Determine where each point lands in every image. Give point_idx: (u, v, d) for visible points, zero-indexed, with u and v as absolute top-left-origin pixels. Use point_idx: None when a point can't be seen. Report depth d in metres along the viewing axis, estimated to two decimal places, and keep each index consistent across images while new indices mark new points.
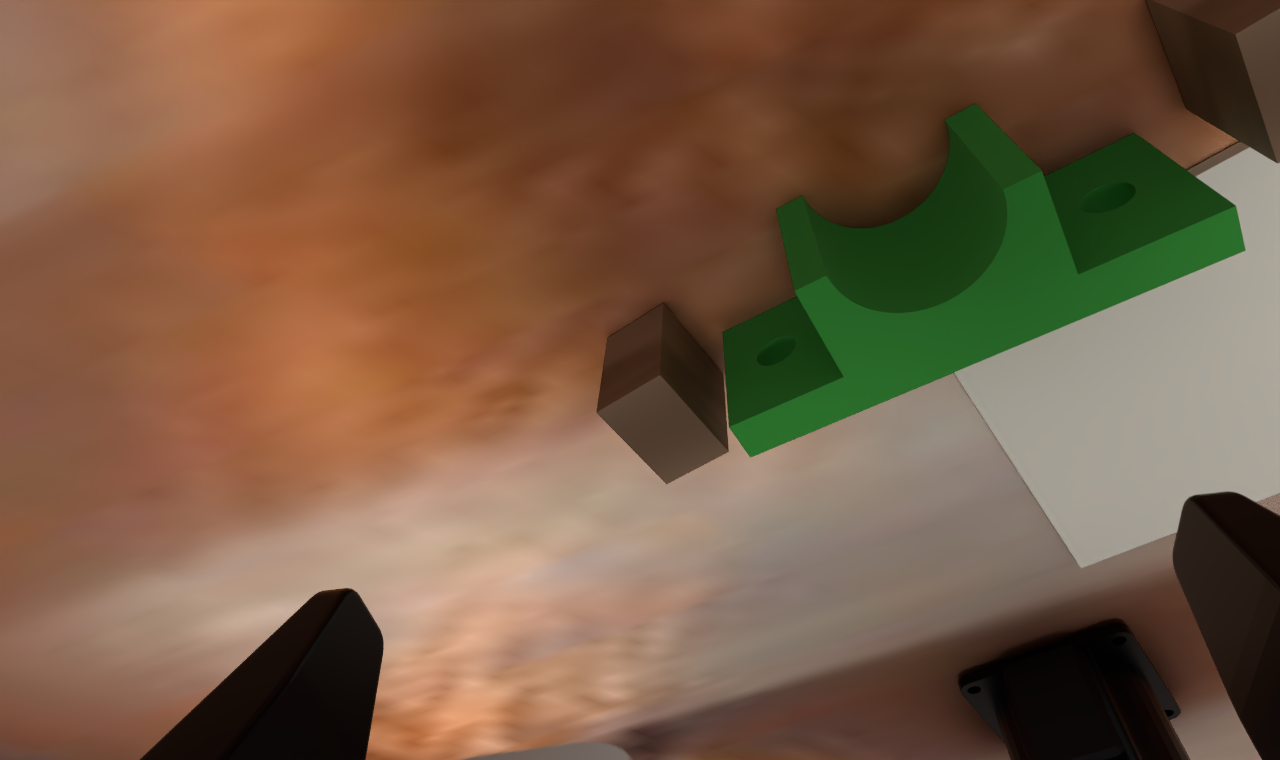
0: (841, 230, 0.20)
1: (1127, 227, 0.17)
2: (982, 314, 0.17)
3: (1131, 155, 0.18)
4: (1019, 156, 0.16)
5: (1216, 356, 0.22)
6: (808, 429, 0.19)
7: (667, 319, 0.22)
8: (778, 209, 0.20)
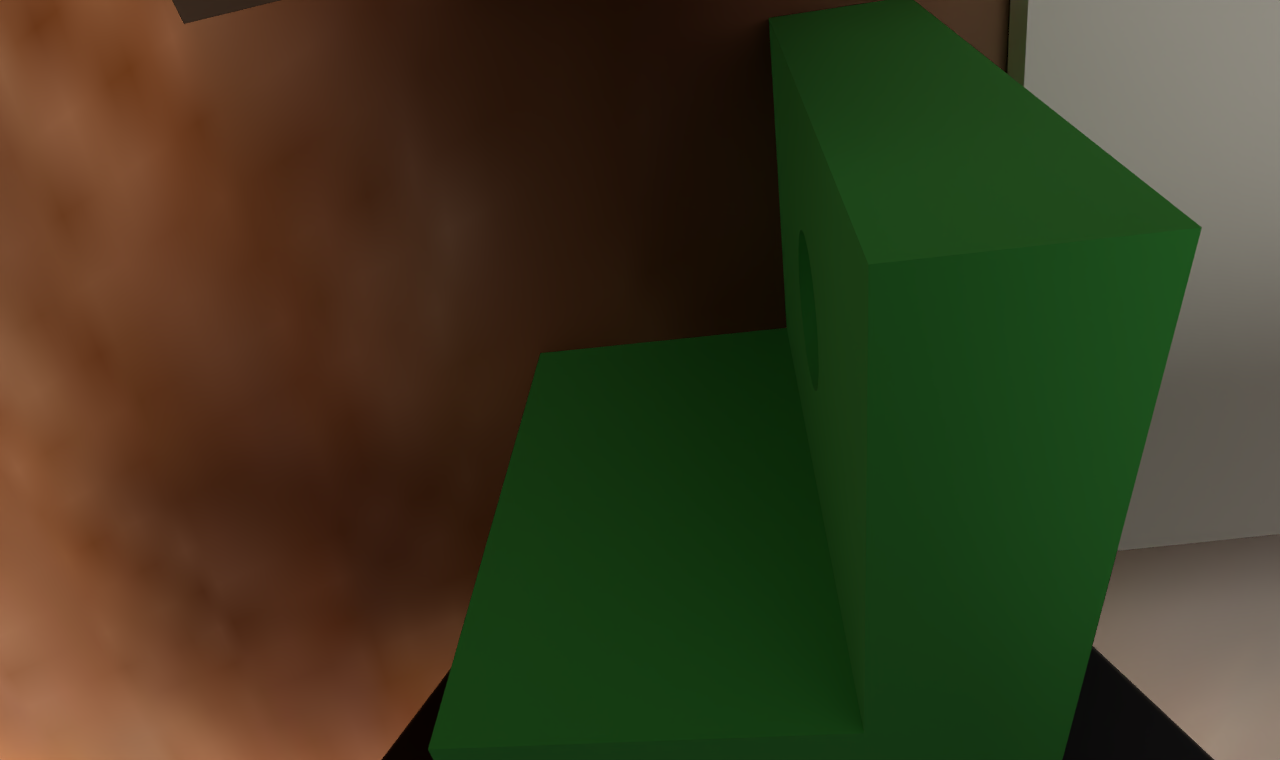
0: None
1: (837, 460, 0.04)
2: None
3: (783, 110, 0.06)
4: (467, 635, 0.06)
5: None
6: None
7: None
8: None
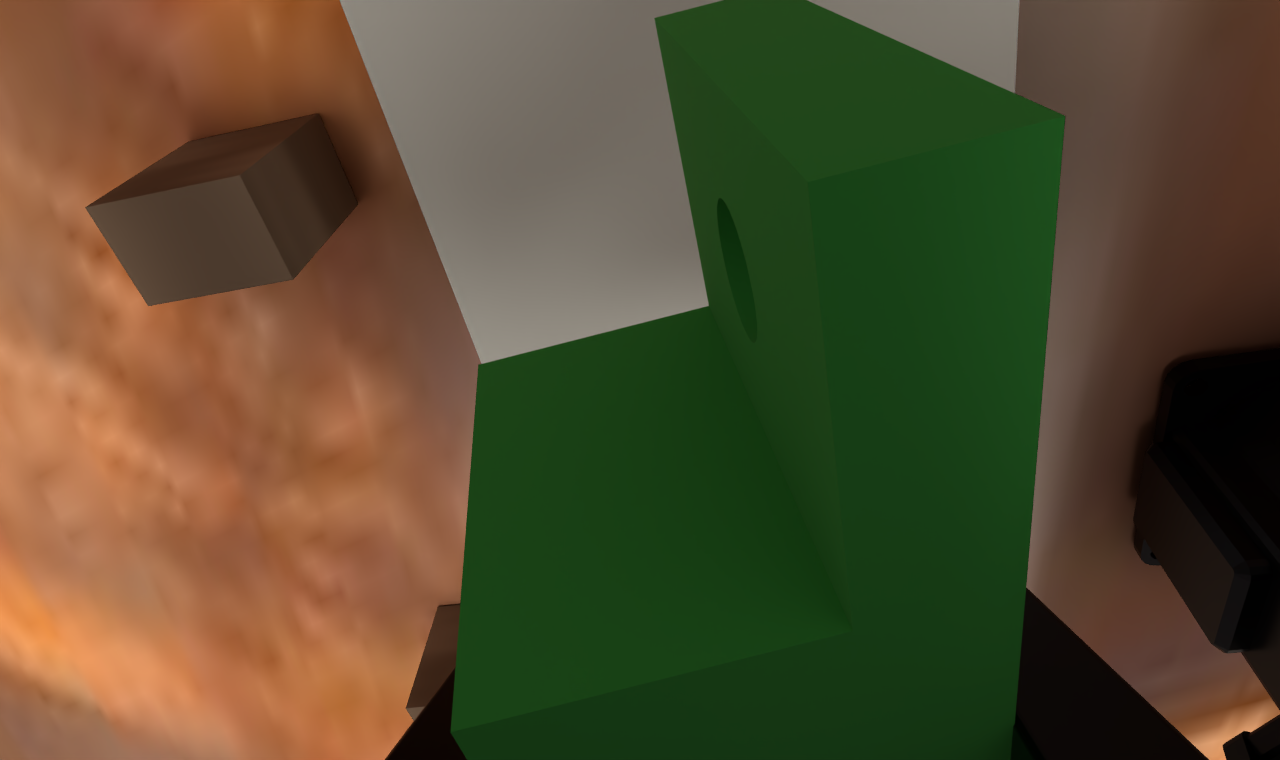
0: None
1: (790, 388, 0.05)
2: None
3: (683, 96, 0.06)
4: (464, 626, 0.06)
5: None
6: None
7: (439, 622, 0.24)
8: None
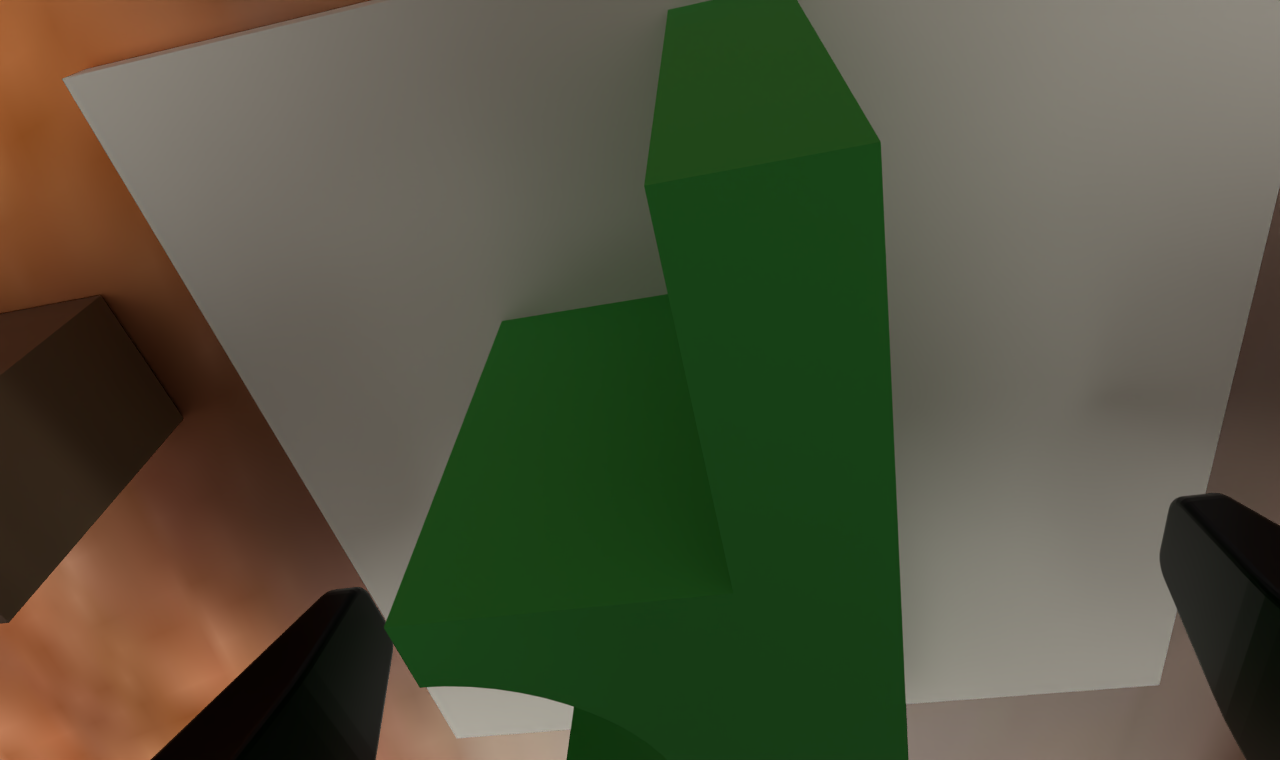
0: None
1: None
2: (762, 752, 0.07)
3: None
4: (423, 545, 0.07)
5: None
6: None
7: None
8: None
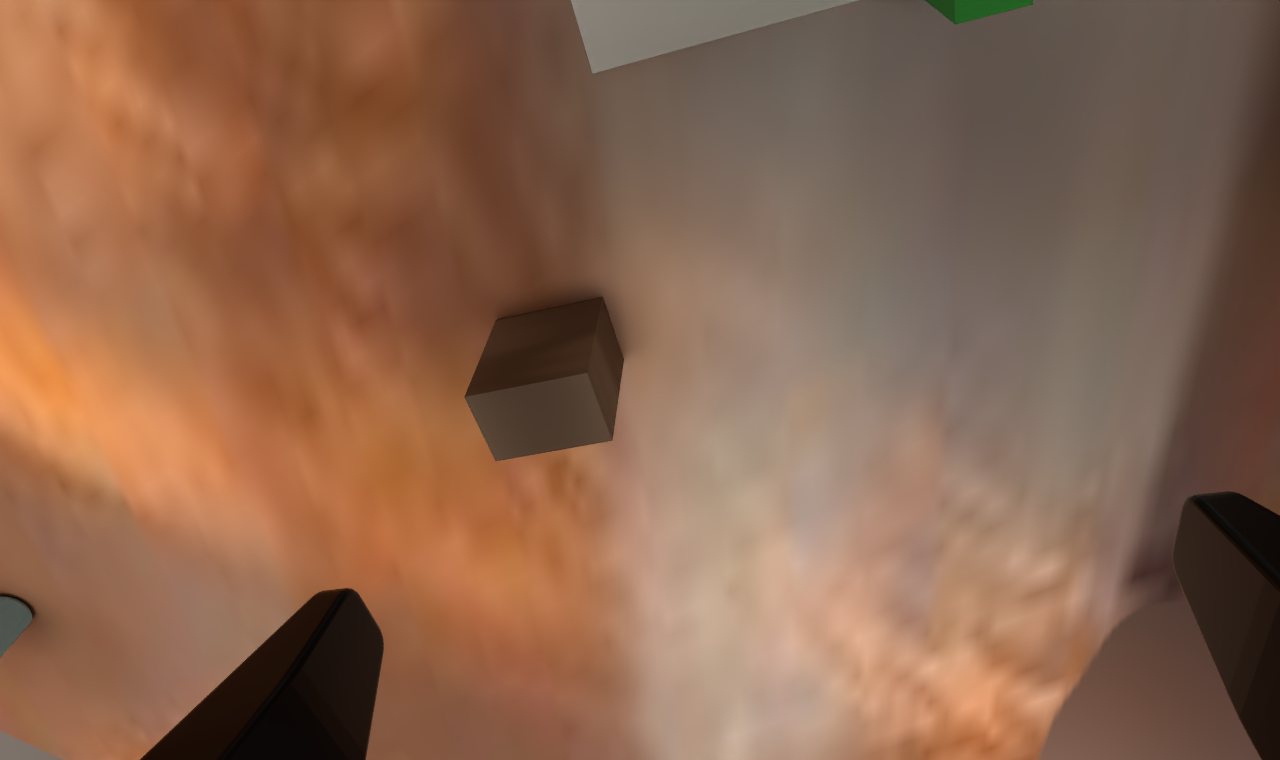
0: None
1: None
2: None
3: None
4: None
5: None
6: None
7: (499, 330, 0.21)
8: None
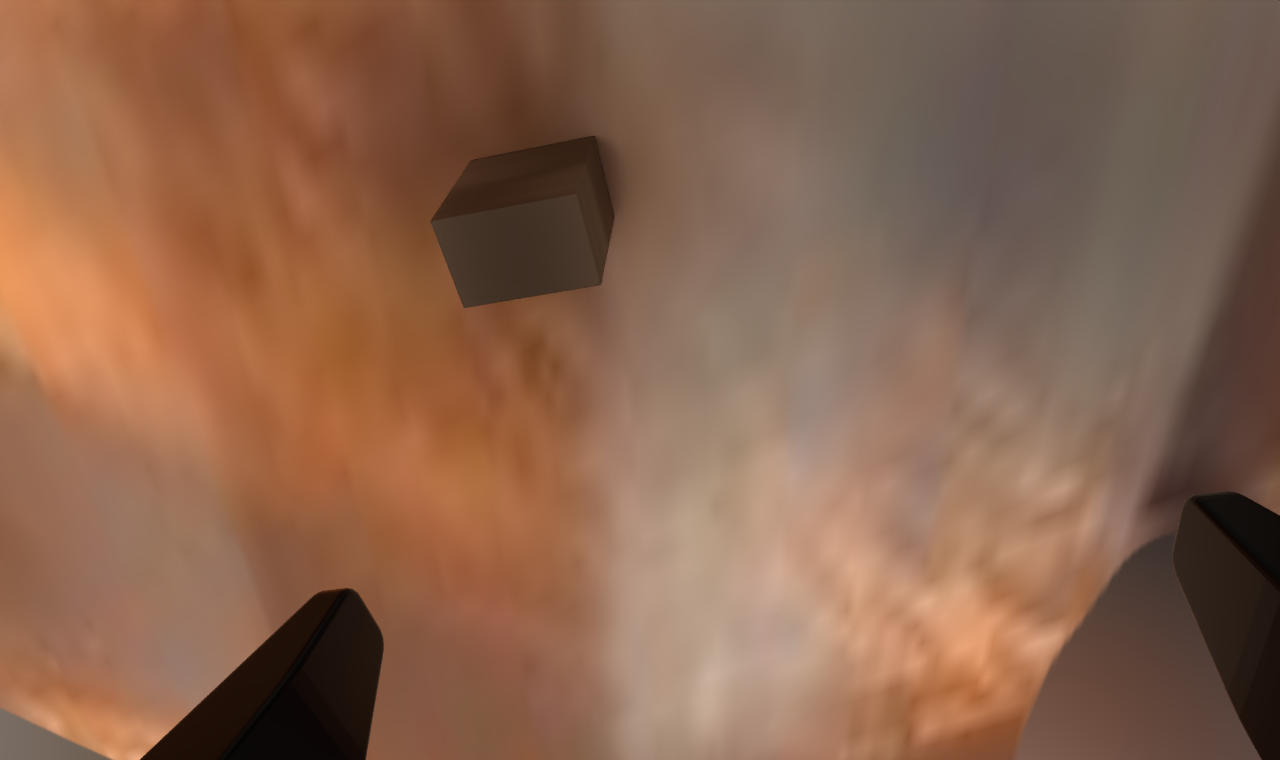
0: None
1: None
2: None
3: None
4: None
5: None
6: None
7: (473, 167, 0.18)
8: None
